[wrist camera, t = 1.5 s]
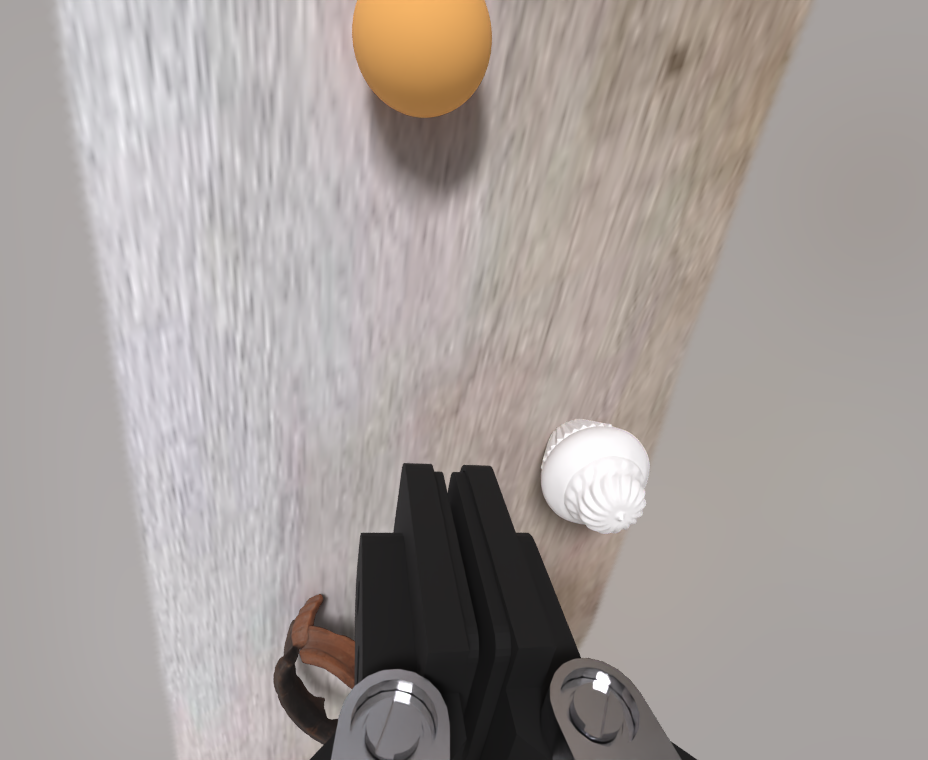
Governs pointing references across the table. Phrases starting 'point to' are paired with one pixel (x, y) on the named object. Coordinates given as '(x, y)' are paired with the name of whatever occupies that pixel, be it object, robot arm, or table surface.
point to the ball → (422, 52)
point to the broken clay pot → (320, 652)
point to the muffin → (595, 475)
